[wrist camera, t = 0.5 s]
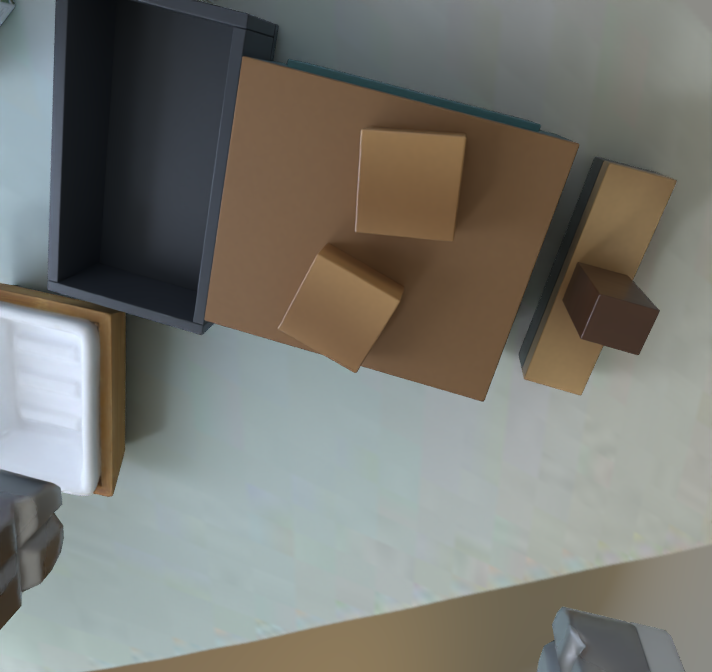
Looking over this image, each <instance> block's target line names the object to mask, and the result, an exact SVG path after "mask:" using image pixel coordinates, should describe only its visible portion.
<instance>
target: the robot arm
mask: <svg viewBox="0 0 712 672" xmlns="http://www.w3.org/2000/svg"><path fill="white" fill-rule="evenodd" d="M61 505H62V496H61V488H60V487H59V486H57V485H56V484H54V483H51V482H47V481H44V480H40V479H36V478H33V477H29V476H25V475H22V474H18V473H14V472H10V471H7V470H3V469H0V630H1V628H2V627H3V626H4V625H5V624H6V623H7V622H8V620H9V619H10V618H11V617H12V616H13V615H14V614H15V612H16V611H17V610H18V609H19V608H20V607H21V602H22V592H24V591H26V590H28V589H30V588H32V587H35V586H37V585H39V584H41V582H42V581H43V580H44V579H45V578H46V576H47V575H48V574H49V573H50V572H51V570H52V569H53V567H54V565H55V563H56V561H57V559H58V557H59V555H60V553H61V549H62V544H63V539H64V531H63V525H62V523H61V522H60V520H59V519H58V518H57V516H56V515H55V513H54V512H55V511H56V510H57V509H58V508H59V507H60V506H61ZM552 626H553V633H554V639H555V640H554V641H552V642H550V643H548V644H547V645H545V646H544V648H543V650H542V653H541V656H540V659H539V662H538V669H537V672H685V670H684V667H683V665H682V662H681V660H680V657H679V655H678V653H677V650H676V647H675V645H674V642H673V640H672V637H671V636H670V634H669V633H668V632H667V631H666V630H663V629H658V628H655V627H650V626H646V625H641V624H637V623H632V622H630V623H628V622H626V621H622V620H618V619H613V618H609V617H605V616H601V615H597V614H592V613H588V612H584V611H579V610H575V609H571V608H566V607H562V608H561V609H560V610H559V611H558V612H557V614H556V617H555V619H554V622H553V624H552Z"/></svg>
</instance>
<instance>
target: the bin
mask: <svg viewBox="0 0 712 672" xmlns="http://www.w3.org/2000/svg"><path fill="white" fill-rule="evenodd" d="M277 32H278V25H277V24H274V23H271V22H269V21H266V20H263V19H261V18H258V17H255V16H253V15H250V14H247V13H243V12H240V11H236V10H232V9H228V8H224V7H220V6H216V5H212V4H208V3H204V2H201V1H197V0H56V9H55V44H54V78H53V112H52V147H51V181H50V216H49V250H48V290H49V291H53V292H56V293H60V294H63V295H67V296H70V297H73V298H77V299H80V300H84V301H87V302H90V303H94V304H97V305H101V306H104V307H107V308H111V309H114V310H118V311H121V312H124V313H128V314H131V315H135V316H138V317H142V318H145V319H148V320H152V321H155V322H159V323H162V324H165V325H169V326H172V327H176V328H179V329H182V330H186V331H189V332H193V333H196V334H200V335H203V334H204V333H205V332H206V331H207V330H208V329H209V328H210V327H211V326H212V325H214V324H215V323H212V322H208V321H205V320H204V318H205V312H206V305H207V298H208V291H209V284H210V277H211V270H212V263H213V256H214V250H215V243H216V236H217V229H218V222H219V215H220V208H221V201H222V194H223V188H224V181H225V174H226V167H227V160H228V153H229V146H230V139H231V132H232V125H233V119H234V112H235V105H236V98H237V91H238V84H239V77H240V70H241V63H242V57H243V56H246V57H252V58H258V59H263V60H269V61H273V57H274V51H275V44H276V38H277Z"/></svg>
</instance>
